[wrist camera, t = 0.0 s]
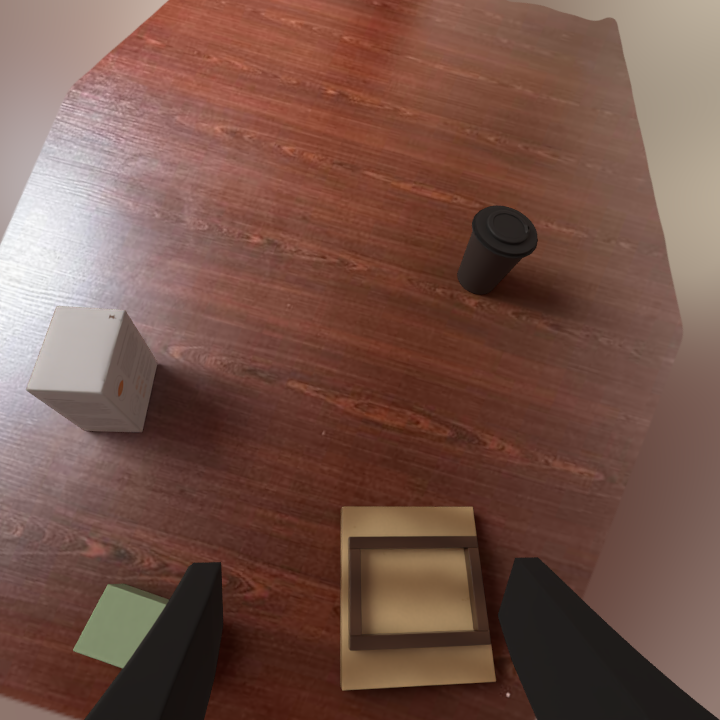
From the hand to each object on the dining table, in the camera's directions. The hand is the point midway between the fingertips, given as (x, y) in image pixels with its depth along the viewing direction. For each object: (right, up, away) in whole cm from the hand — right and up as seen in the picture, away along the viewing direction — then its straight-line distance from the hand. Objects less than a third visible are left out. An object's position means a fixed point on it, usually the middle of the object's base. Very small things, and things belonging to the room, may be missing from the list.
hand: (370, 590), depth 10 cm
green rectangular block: (-17, -17, +25) cm, 34 cm away
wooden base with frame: (+4, -15, +29) cm, 33 cm away
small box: (-25, +2, +33) cm, 41 cm away
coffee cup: (+16, +17, +47) cm, 53 cm away
